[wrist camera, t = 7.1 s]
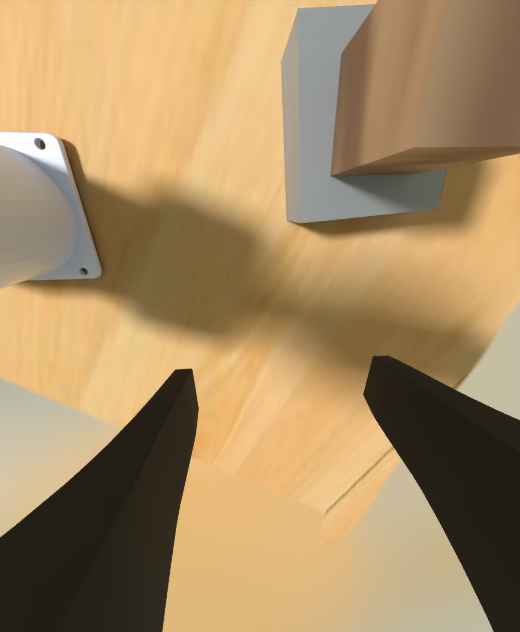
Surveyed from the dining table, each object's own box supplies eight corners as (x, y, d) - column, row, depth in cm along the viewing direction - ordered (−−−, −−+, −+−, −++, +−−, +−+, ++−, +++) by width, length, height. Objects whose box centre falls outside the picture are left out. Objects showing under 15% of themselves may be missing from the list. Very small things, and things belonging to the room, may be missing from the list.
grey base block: (285, 220, 16) (300, 223, 12) (279, 65, 13) (298, 8, 9) (393, 209, 17) (437, 209, 13) (416, 56, 13) (485, -2, 9)
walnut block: (330, 176, 12) (413, 147, 6) (341, 53, 10) (475, -141, 4) (411, 174, 12) (557, 146, 7) (438, 56, 10) (674, -120, 5)
